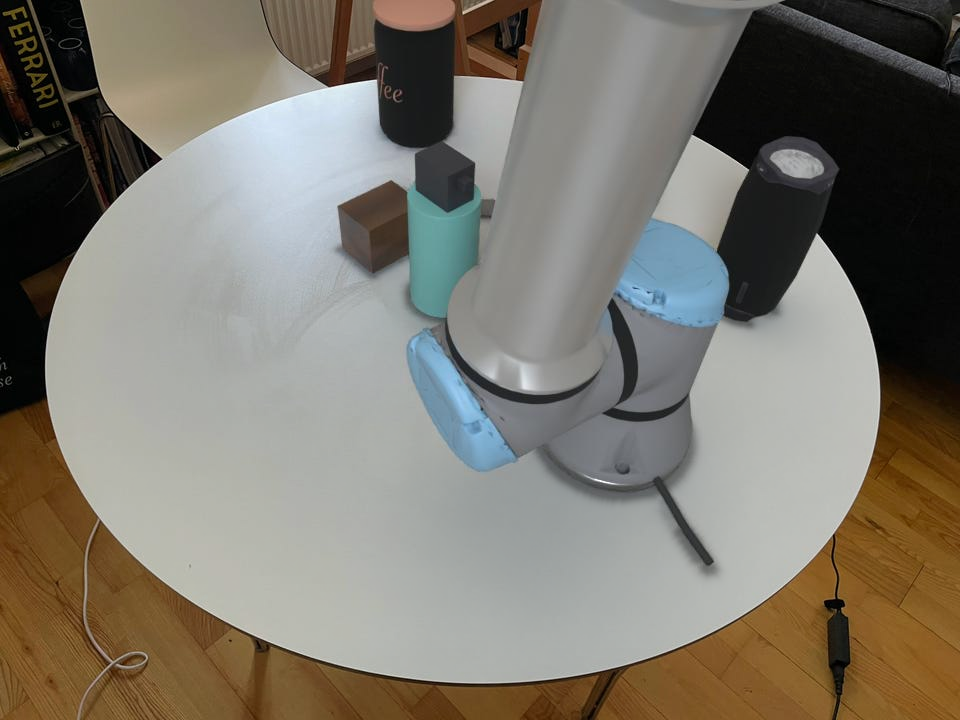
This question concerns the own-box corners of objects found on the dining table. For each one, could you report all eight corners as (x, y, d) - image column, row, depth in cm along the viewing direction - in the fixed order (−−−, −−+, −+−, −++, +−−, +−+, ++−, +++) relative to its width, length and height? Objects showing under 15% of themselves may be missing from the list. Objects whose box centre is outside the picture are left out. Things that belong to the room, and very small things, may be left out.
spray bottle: (477, 308, 91) (549, 240, 74) (429, 338, 88) (494, 274, 71) (408, 209, 92) (465, 119, 75) (358, 235, 88) (406, 147, 71)
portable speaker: (731, 264, 94) (787, 122, 79) (794, 307, 89) (865, 165, 74) (685, 292, 90) (735, 148, 75) (749, 339, 85) (814, 195, 71)
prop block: (424, 245, 93) (423, 203, 89) (372, 273, 90) (369, 231, 85) (393, 222, 96) (391, 179, 91) (342, 248, 92) (337, 205, 88)
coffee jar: (376, 112, 113) (368, -11, 100) (447, 108, 115) (449, -14, 101) (383, 153, 106) (376, 26, 93) (458, 148, 108) (462, 22, 94)
